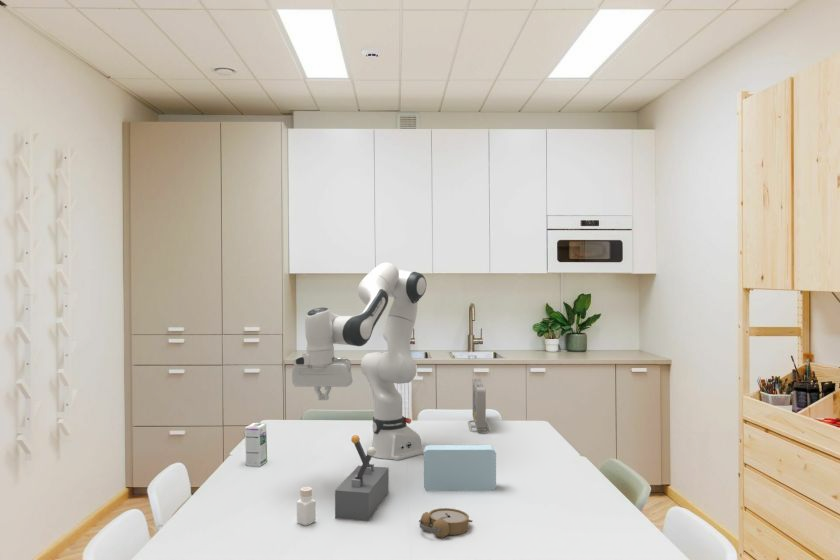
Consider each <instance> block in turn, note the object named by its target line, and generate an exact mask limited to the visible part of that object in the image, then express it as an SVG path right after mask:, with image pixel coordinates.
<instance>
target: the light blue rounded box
mask: <svg viewBox="0 0 840 560" xmlns="http://www.w3.org/2000/svg"><path fill="white" fill-rule="evenodd" d="M424 446H425V445H424ZM496 488H497V452H496V451H495V448H494V446H493V445H490V444H472V445H471V444H468V445H467V444H465V445H463V444H462V445H461V444H457V445H455V444H449V445H446V444H445V445H443V444H438V445H437V444H432V445H430V444H429V445H426V446H425V448H424V454H423V489H424V490H426V491H428V492H429V491H430V492H431V491H433V492H437V491H438V492H439V491H440V492H442V491H443V492H445V491H446V492H447V491H448V492H449V491H450V492H453V491H455V492H457V491H458V492H463V491H464V492H468V491H470V492H471V491H472V492H473V491H475V492H476V491H477V492H478V491H482V492H485V491H487V492H488V491H490V492H491V491H495V490H496Z"/></svg>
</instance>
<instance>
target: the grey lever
mask: <svg viewBox="0 0 840 560" xmlns="http://www.w3.org/2000/svg"><path fill="white" fill-rule="evenodd" d="M375 453H376V450H375V448H374V447H372V446H369V447H368V448H367V450H366V458H365V460H364V462H363V463H362V464H361V465H360V466H361V469H360V471H359V473H358V475H357V477H356V479H360V481H361V479H362V477H363V475H364V473H365V471H366V468H367V466H368V464H370V462H371V460H372V458H373V457H374V456H373V455H375Z"/></svg>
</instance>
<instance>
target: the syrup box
mask: <svg viewBox="0 0 840 560" xmlns="http://www.w3.org/2000/svg"><path fill="white" fill-rule="evenodd" d="M244 431H245V432H244V433H245V435H244V439H245V441H244V442H245V466H247V467H254V466H256V468H257V467H261V466H263V465H264V464H266V463H267V462H268V445H267V443H268V442H267V440H268V439H267V423H264V422H252V423H251V424H249V425H247V426H245V427H244Z"/></svg>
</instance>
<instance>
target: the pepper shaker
mask: <svg viewBox="0 0 840 560" xmlns="http://www.w3.org/2000/svg"><path fill="white" fill-rule="evenodd" d="M299 492H300V498H299V500H297V502H296V522H297V523H298V524H301V525H303V526H308V525H310V524H312V523H314V522H316V517H317V516H316V512H317V510H316V506H317V505H316V500H315V499H314V498H312V496H313V488H312V487H311V486H303V487H301V488H300V491H299Z"/></svg>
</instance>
